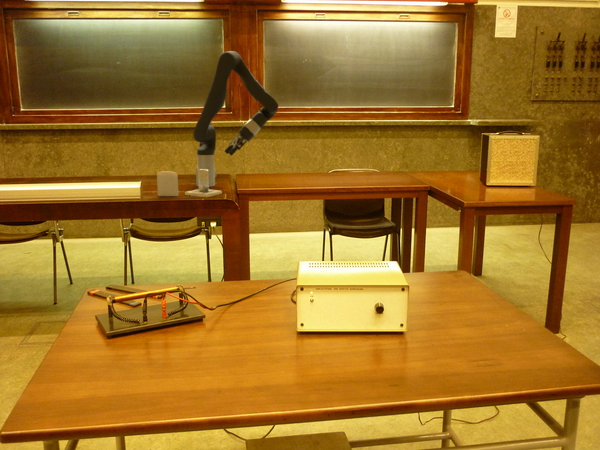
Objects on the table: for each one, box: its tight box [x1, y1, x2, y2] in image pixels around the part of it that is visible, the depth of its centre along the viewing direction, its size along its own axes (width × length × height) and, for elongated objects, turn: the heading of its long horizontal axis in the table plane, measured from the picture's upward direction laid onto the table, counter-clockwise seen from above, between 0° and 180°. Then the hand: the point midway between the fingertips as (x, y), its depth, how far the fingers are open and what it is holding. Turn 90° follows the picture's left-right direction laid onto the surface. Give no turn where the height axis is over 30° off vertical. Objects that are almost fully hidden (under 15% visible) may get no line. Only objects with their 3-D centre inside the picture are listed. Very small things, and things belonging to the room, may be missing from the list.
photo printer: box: [156, 170, 179, 197], centre depth 287 cm, size 10×4×12 cm, turn 86°
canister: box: [198, 169, 210, 192], centre depth 293 cm, size 5×5×11 cm
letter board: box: [184, 188, 223, 198], centre depth 294 cm, size 13×13×2 cm
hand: (227, 153), depth 295 cm, fingers open, 8 cm apart
